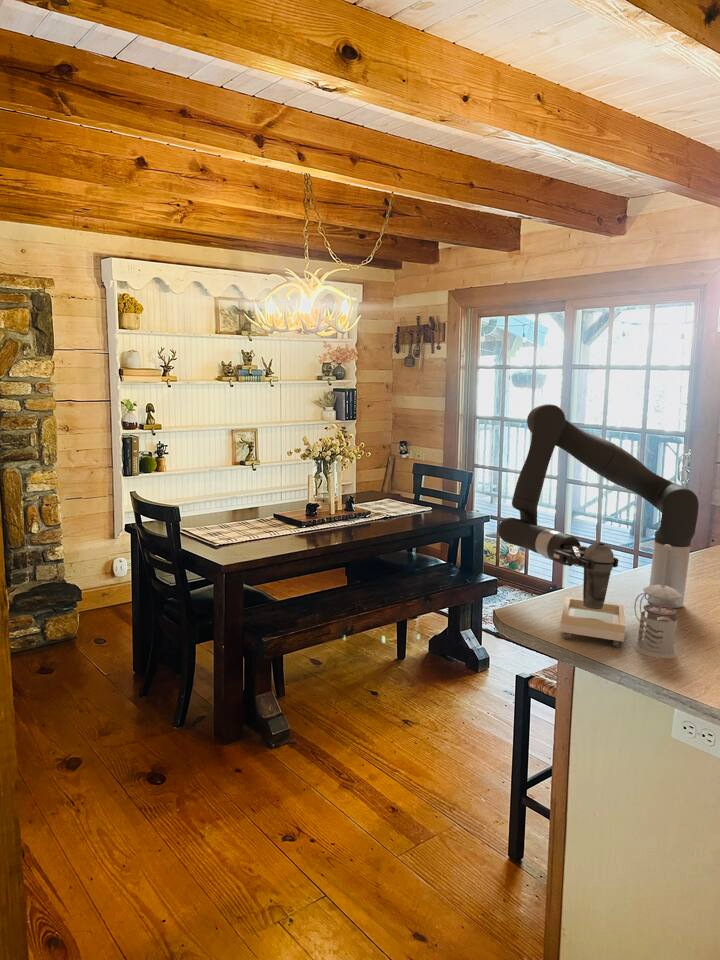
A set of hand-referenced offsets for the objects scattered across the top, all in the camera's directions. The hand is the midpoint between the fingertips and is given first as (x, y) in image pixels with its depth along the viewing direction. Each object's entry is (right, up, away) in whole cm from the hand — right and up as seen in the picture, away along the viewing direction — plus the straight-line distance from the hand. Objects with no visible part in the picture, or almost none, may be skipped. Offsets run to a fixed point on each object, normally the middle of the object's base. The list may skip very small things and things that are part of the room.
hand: (604, 564), depth 167 cm
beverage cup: (-2, -11, +4) cm, 11 cm away
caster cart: (-2, -17, +5) cm, 18 cm away
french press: (+10, -19, -3) cm, 22 cm away
